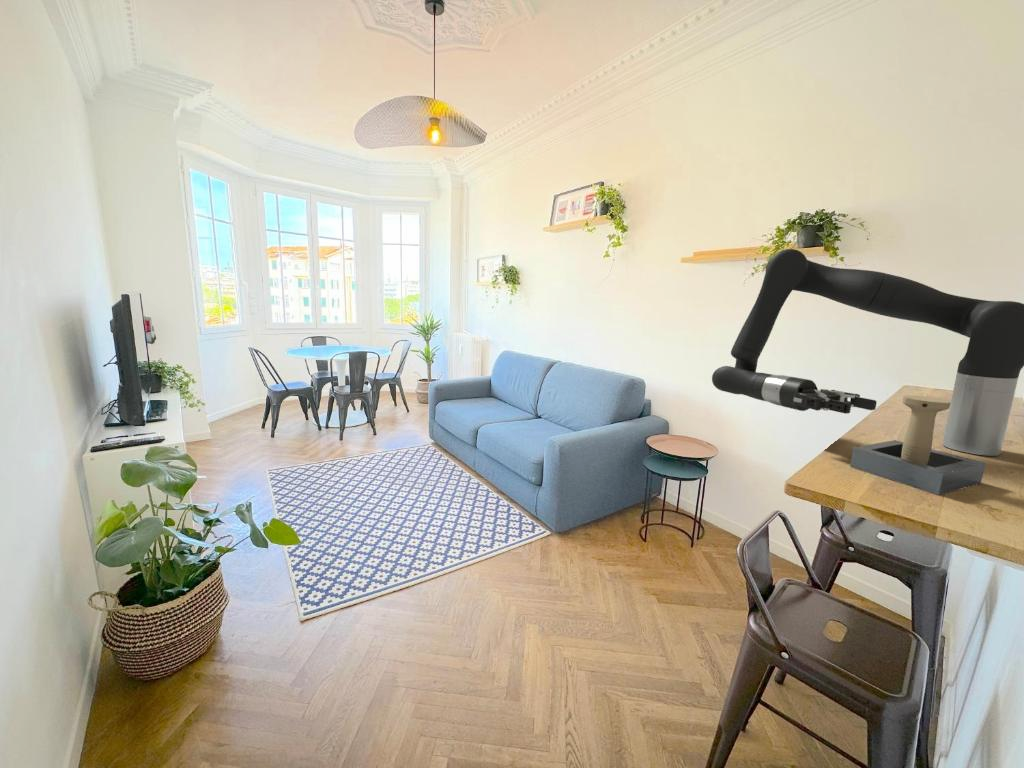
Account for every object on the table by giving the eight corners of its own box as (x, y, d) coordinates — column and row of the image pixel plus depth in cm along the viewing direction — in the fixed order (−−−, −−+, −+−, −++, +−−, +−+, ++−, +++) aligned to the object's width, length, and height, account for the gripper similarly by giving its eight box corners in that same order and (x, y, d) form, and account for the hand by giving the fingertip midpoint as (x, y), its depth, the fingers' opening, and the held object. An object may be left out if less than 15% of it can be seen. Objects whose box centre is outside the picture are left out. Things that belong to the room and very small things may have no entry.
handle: (933, 483, 79) (950, 404, 76) (888, 473, 84) (902, 398, 81) (934, 475, 83) (951, 399, 80) (890, 466, 87) (904, 394, 84)
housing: (891, 458, 92) (894, 440, 91) (980, 483, 79) (985, 462, 79) (850, 466, 87) (853, 447, 86) (938, 495, 74) (943, 473, 73)
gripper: (770, 378, 102) (844, 391, 87) (810, 375, 107) (886, 387, 92) (766, 409, 103) (838, 427, 88) (805, 404, 108) (880, 421, 94)
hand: (862, 407), depth 90 cm, fingers open, 8 cm apart
